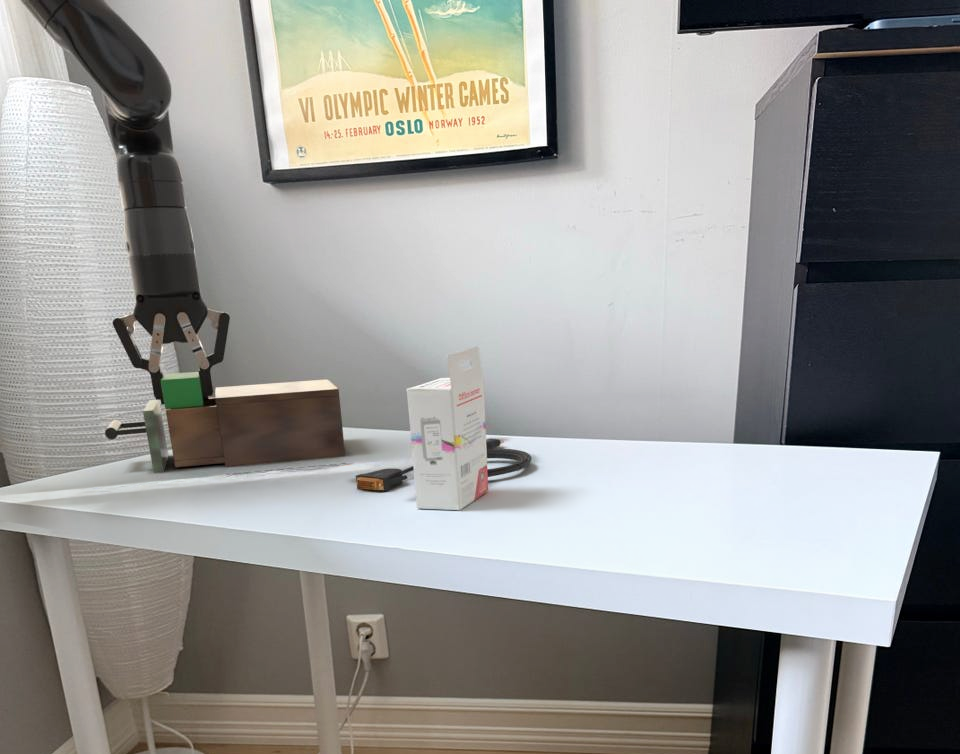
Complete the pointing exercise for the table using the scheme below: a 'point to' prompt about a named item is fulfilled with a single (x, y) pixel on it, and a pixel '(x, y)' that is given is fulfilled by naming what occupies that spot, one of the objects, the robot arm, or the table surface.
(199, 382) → the green rectangular block
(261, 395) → the cabinet
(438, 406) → the ink cartridge box
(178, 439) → the drawer
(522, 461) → the cable
